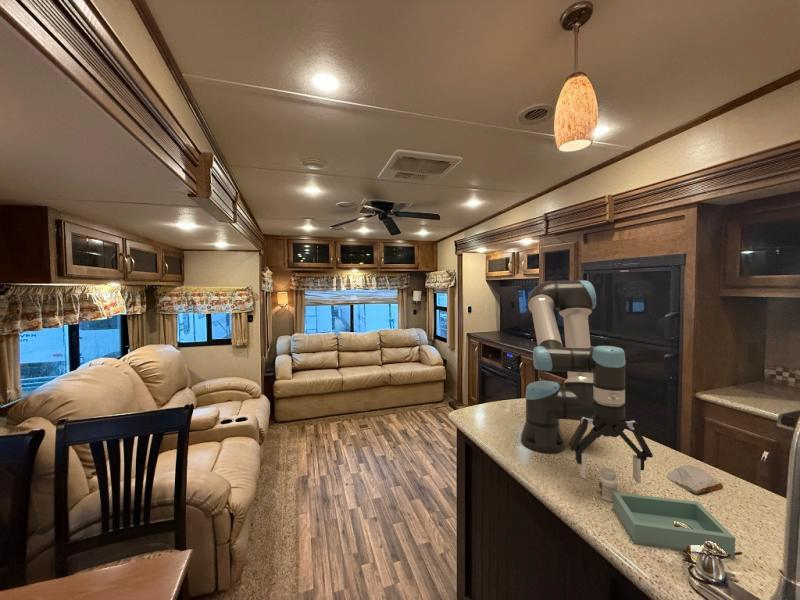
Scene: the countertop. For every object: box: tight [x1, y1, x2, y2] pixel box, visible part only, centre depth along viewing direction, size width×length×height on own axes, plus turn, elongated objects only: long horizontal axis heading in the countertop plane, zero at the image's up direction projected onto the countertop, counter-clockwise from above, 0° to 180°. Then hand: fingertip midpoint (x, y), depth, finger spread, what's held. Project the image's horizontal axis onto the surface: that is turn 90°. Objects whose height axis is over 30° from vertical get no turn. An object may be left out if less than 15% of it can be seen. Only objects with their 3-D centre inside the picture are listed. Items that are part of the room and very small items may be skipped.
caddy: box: [612, 492, 736, 559], centre depth 79 cm, size 12×19×5 cm, turn 76°
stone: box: [666, 464, 724, 495], centre depth 98 cm, size 10×12×4 cm
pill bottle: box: [598, 467, 619, 503], centre depth 92 cm, size 4×4×8 cm
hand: (609, 477), depth 91 cm, fingers open, 13 cm apart
